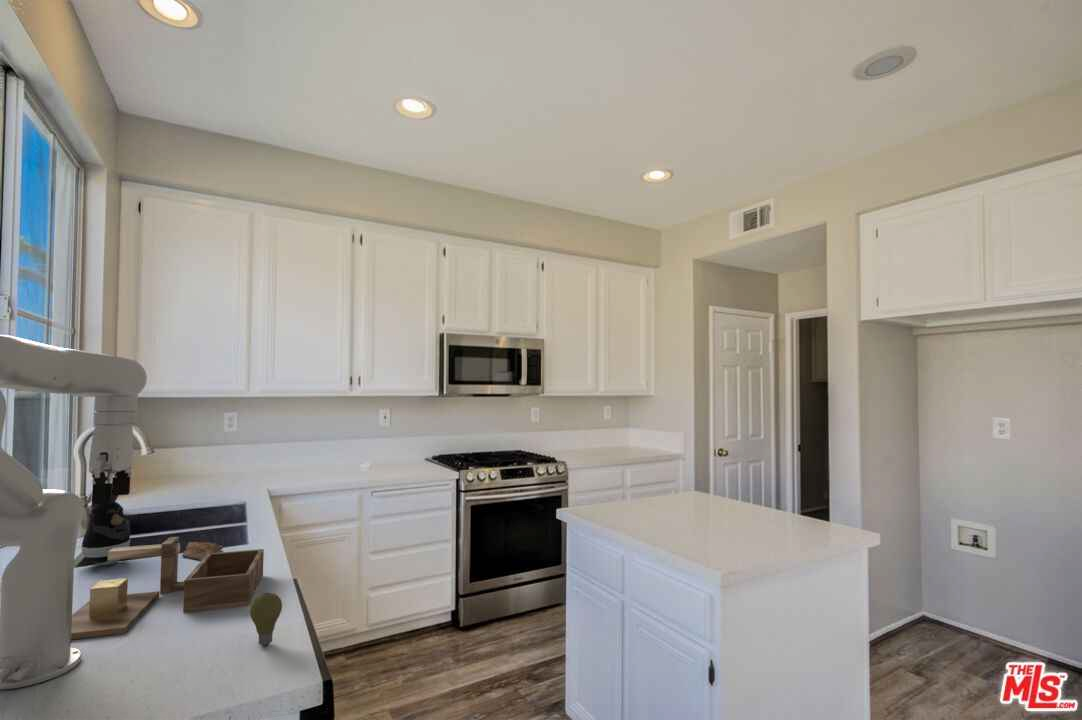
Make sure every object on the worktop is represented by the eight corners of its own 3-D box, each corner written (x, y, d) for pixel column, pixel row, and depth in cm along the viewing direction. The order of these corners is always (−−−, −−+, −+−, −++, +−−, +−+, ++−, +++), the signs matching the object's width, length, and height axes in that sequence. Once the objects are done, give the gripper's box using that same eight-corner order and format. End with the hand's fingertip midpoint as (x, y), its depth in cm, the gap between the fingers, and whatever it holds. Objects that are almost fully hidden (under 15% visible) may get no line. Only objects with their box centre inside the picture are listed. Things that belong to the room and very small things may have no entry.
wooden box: (248, 605, 125) (250, 553, 126) (137, 617, 119) (139, 562, 119) (262, 575, 144) (264, 530, 145) (167, 584, 138) (169, 537, 138)
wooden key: (176, 554, 135) (176, 546, 135) (107, 560, 130) (108, 551, 130) (179, 551, 137) (180, 542, 137) (113, 556, 133) (113, 547, 133)
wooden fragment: (232, 559, 158) (232, 555, 158) (187, 567, 151) (187, 564, 151) (214, 539, 178) (214, 536, 178) (174, 546, 171) (174, 543, 171)
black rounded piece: (102, 573, 145) (105, 497, 146) (69, 570, 148) (72, 495, 148) (139, 560, 156) (142, 489, 157) (108, 557, 158) (111, 487, 159)
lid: (125, 635, 111) (126, 597, 111) (46, 644, 107) (47, 604, 107) (159, 598, 130) (160, 565, 130) (93, 605, 126) (94, 571, 126)
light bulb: (245, 654, 103) (247, 600, 104) (252, 640, 109) (254, 589, 109) (278, 650, 105) (279, 597, 105) (283, 637, 110) (284, 586, 111)
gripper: (111, 418, 127) (107, 493, 126) (75, 421, 111) (70, 507, 110) (149, 417, 129) (146, 491, 128) (119, 421, 113) (115, 505, 112)
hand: (111, 498), depth 119 cm, fingers open, 9 cm apart
